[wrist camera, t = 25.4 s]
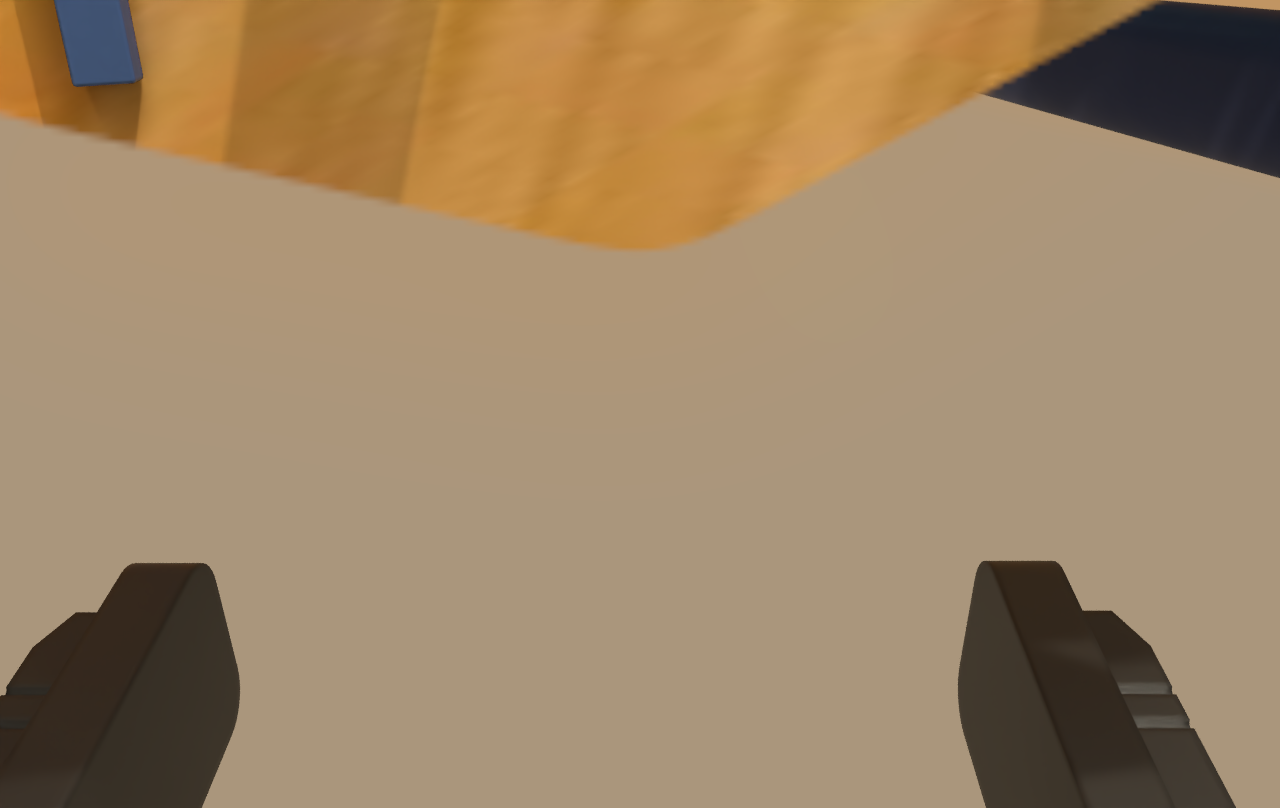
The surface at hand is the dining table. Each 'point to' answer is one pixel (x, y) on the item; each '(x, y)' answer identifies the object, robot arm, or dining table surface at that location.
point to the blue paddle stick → (99, 42)
